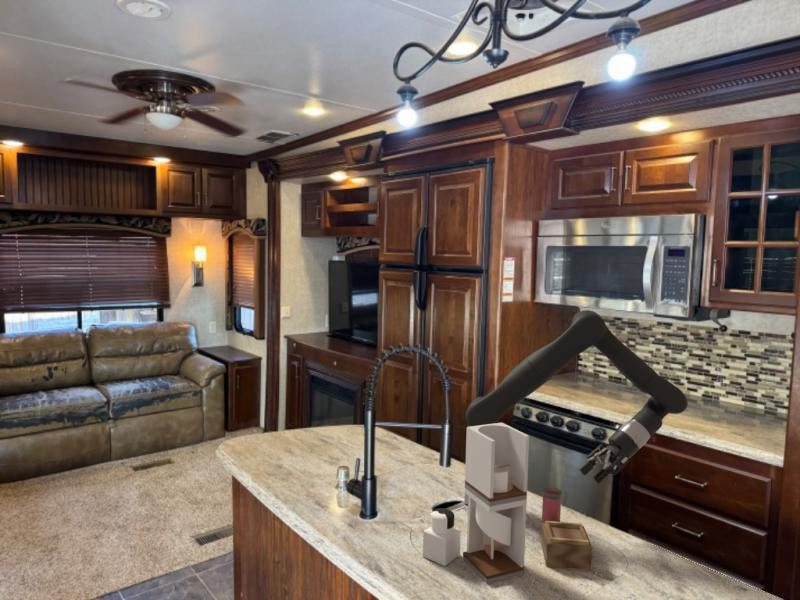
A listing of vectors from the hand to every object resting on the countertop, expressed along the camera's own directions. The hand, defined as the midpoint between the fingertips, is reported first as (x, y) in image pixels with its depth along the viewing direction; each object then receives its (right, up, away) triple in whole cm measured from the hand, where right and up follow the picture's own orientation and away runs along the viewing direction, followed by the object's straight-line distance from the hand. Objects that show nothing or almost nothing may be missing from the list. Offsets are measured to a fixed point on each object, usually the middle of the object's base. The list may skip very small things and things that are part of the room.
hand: (588, 476), depth 157 cm
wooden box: (-10, -17, -12) cm, 23 cm away
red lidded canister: (-10, -16, +1) cm, 19 cm away
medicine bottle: (-43, -17, -13) cm, 48 cm away
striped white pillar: (-30, -17, -17) cm, 39 cm away
